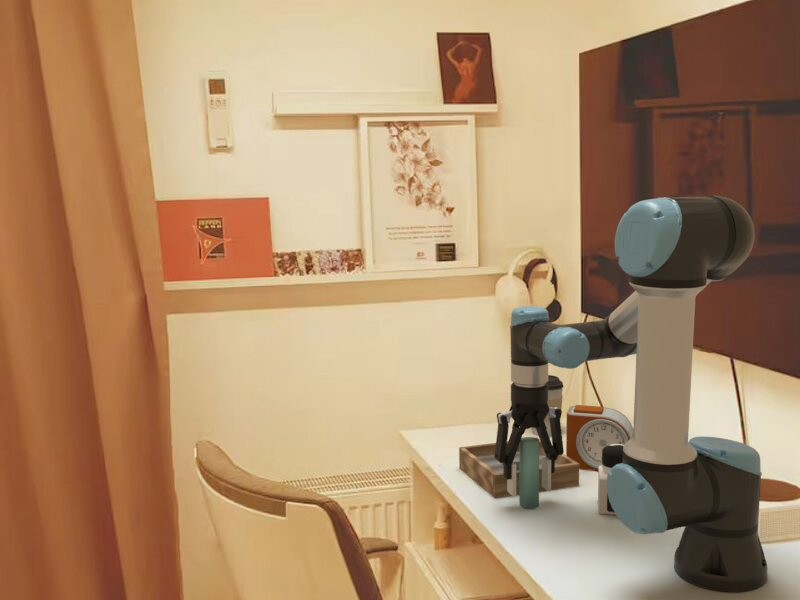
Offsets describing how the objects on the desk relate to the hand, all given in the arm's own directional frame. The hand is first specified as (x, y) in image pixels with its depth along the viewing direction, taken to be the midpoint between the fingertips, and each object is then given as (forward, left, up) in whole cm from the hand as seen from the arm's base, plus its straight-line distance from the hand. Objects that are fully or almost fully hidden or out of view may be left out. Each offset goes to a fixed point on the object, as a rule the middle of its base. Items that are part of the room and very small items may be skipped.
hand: (529, 490), depth 187 cm
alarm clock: (+16, -26, -3) cm, 31 cm away
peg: (0, 0, -3) cm, 3 cm away
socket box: (+16, -5, -3) cm, 17 cm away
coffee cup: (+43, -26, -3) cm, 50 cm away
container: (-8, -16, -3) cm, 18 cm away
